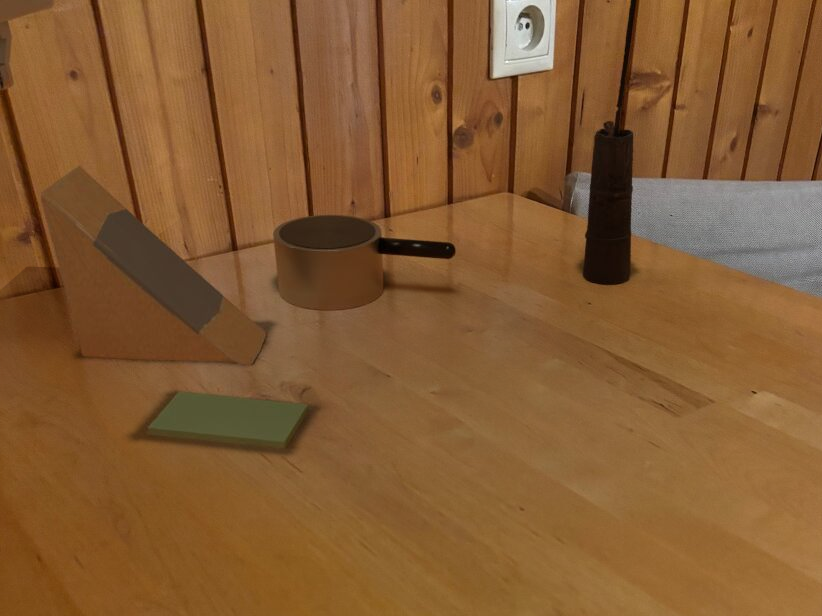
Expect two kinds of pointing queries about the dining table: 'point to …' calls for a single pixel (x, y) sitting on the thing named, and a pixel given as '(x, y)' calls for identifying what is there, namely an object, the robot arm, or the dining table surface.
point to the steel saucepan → (339, 260)
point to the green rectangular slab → (229, 419)
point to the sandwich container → (136, 285)
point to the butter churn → (611, 194)
